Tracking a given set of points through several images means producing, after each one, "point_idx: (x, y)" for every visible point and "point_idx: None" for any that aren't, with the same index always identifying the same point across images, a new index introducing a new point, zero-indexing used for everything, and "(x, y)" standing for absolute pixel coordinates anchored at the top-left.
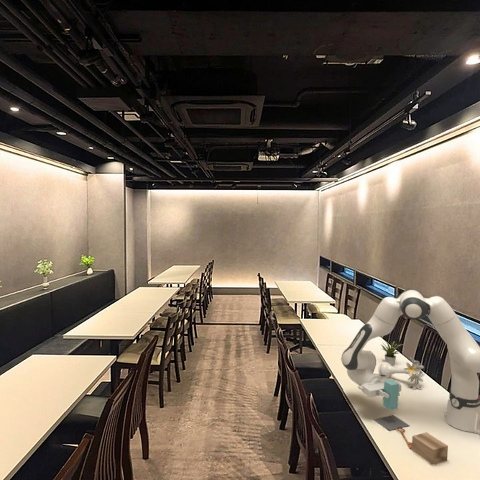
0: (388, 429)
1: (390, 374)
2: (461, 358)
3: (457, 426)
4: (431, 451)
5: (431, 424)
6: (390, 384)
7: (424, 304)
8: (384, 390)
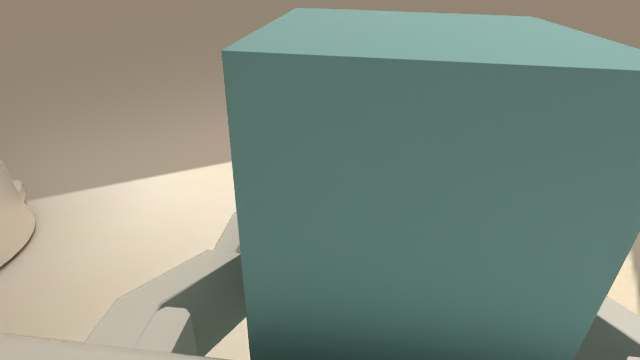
0: None
1: None
2: None
3: (21, 231)
4: None
5: (65, 327)
6: (545, 21)
7: None
8: (551, 354)
